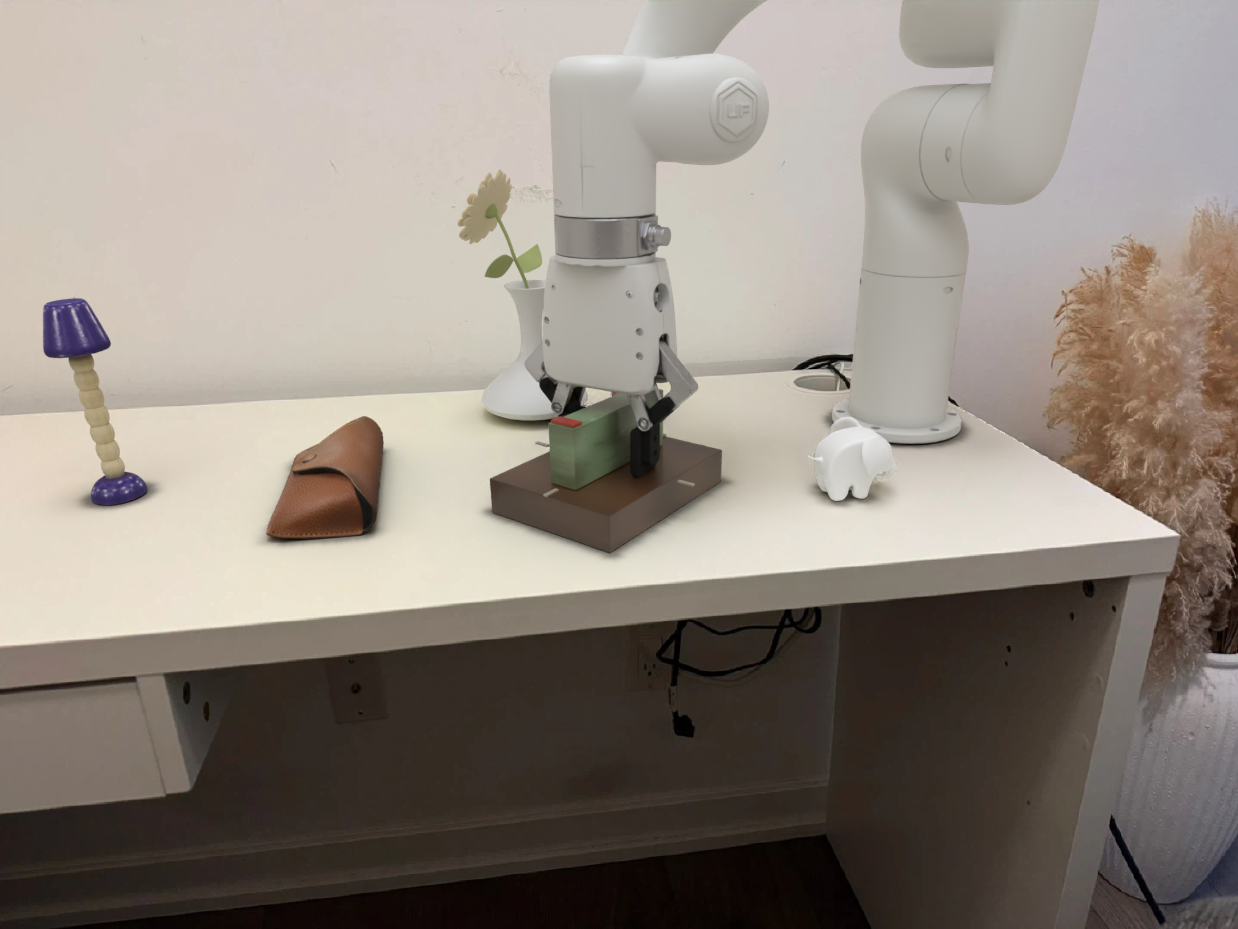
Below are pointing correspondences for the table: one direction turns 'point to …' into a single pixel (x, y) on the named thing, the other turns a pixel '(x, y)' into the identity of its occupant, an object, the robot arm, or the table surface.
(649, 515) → the base
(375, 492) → the sunglasses case
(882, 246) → the robot arm
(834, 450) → the elephant figurine
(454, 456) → the table surface
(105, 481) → the toy lamp
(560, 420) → the green rectangular block
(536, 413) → the flower in vase
